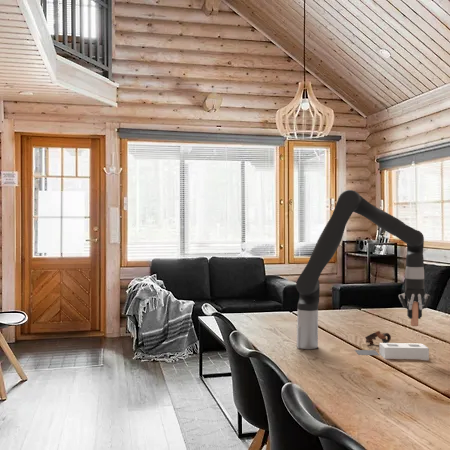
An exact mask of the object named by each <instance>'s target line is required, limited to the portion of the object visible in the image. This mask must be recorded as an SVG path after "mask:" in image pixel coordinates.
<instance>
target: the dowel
mask: <svg viewBox="0 0 450 450" xmlns="http://www.w3.org/2000/svg"><path fill="white" fill-rule="evenodd" d="M411 310H412V319H410V326H411V327H419V319H418V302H416V301H415V302H413V305H412V309H411Z"/></svg>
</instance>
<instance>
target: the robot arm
mask: <svg viewBox="0 0 450 450" xmlns="http://www.w3.org/2000/svg"><path fill="white" fill-rule="evenodd" d="M353 213H356V214H357V215H360V216H362V217H364V218H366V219H368V220H369V221H370V222H371V223H373V224H375V225H376V226H377V227H379V228H380V229H382V230H384V232H387V233H388V234H389V235H391V236H394V237H396V238H397V239H399V240H400V241H402V242H403V243H405V244H406V255H405V256H406V257H405V272H404V273H405V274H404V277H405V280H404V281H405V284H404V286H405V289H404V292H403V293H401V294H398V296H397V297H398V299H399V301H400V303H401V305H402V307H403V308H404V309H407V311H406V312H407V317H408V319H410V320H411V319H412V310H411V309H412V305H413V302H418V320H420V319H421V318H422V317H423V310H424V309H427V308H428V305H429V303H430V301H431V299H432V295H430V294H428V293H426V292H425V269H424V268H425V267H424V264H425V263H424V261H425V259H424V245H425V238H424V237H425V236H424V234H423V233H422V232H421V231H420V230H418V229H415V228H414V227H411V226H410V225H407V224H406V223H405V222H404V221H402V220H400V219H399V218H397V217H395V216H394V215H392V214H390V213H388V212H386V211H384V210H382V209H380V208H378V207H377V206H375V205H374V204H372V203H371V202H369V201H368V200H367V199H365V198H364V197H363V196H361V195H360V194H359V192H358V191H356V190H352V189H346V190H344V191H342V192H341V193H340V194H339V196H338V199H337V202H336V204H335V206H334V209H333V211H332V214H331V216H330V219H329V220H328V221H327V223H326V225H325V226H324V228H323V230H322V231H321V234H320V235H319V237H318V239H317V241H316V244H315V246H314V248H313V250H312V252H311V255H310V256H309V257H310V258H309V260H308V262H307V263H306V266H305V267H304V268H303V270H302V272H301V273H300V274H299V276H298V278H297V279H296V283H295V288H296V290H297V293H299V298H298V302H297V321H296V322H297V325H296V346H297V349H302V350H316V349H318V348H319V347H318V346H319V304H320V292H321V291H320V290H321V289H320V287H321V286H320V276H321V274H322V272H323V270H324V269H325V267H326V266H327V265H328V264H329V262H330V261H331V260H332V258H333V257H334V256H335V254H336V252H337V250H338V248H339V246H340V243H341V242H342V239H343V236H344V233H345V229H346V226H347V223H348V221H349V220H350V218H351V216H352V215H353ZM405 297H406V298H407V302H406V300H405V299H406V298H405ZM423 298H424V301H423V303H422V299H423Z"/></svg>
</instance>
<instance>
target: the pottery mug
mask: <svg viewBox="0 0 450 450" xmlns="http://www.w3.org/2000/svg"><path fill="white" fill-rule="evenodd" d="M377 338H379V340H381V341H382V343H390V341H391V339H392V336H391V334H390V333H388V332H384V333H381V331H380V330H378V331H375V332H373V333H371V334H369V335H366V336H365V343H367V344H370V345H373V344H374V341H375V340H377Z"/></svg>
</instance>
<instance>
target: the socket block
mask: <svg viewBox="0 0 450 450" xmlns="http://www.w3.org/2000/svg"><path fill="white" fill-rule="evenodd" d="M378 345H379V350H378V352H379V353H378V354H379V356H381V357H382V358H383V359H387V360H391V359H392V360H394V359H395V360H422V361H429V360H430V359H429V357H430V348H429V347H428V346H427V345H425V344H423V343H417V342H416V343H414V342H413V343H412V342H410V343H409V342H406V343H405V342H388V343H383V342H379V344H378Z"/></svg>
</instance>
